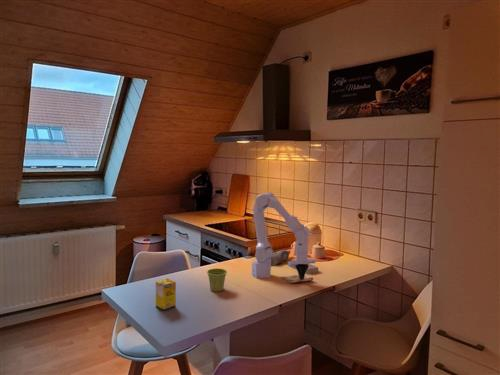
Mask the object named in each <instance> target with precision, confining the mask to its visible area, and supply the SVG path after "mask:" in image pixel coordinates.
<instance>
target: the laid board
mask: <svg viewBox="0 0 500 375" xmlns="http://www.w3.org/2000/svg"><path fill="white" fill-rule="evenodd" d="M280 278H281V279H282V280H283V281H286V280H290V279H298V278H299V275H298V274H294V275H289V276H287V275H286V276H280ZM304 278H306V275H305V276H304Z"/></svg>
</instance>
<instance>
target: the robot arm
mask: <svg viewBox="0 0 500 375" xmlns="http://www.w3.org/2000/svg"><path fill="white" fill-rule="evenodd" d="M254 201H255V202H254V205H253V208H252V214H253V220H254V221H253V222H254V227H255V234H256V240H257V244H256V246H255V254H254V257H255V261H253V262H252V263H251V276H253V277H254V278H255V279H261V278H262V279H264V278H265V279H266V278H270V277H271V271H272V270H271V269H272V268H271V267H272V266H271V257H272V256H273V254H274V250H273V248H272V244H271V243H270V242H269V239H268V233H267V227H266V219H265V210H266V209H267V208H269V209H274V210H275V211H276V212H277V213H278V214H279V215H280V216H281V217H282V218H283V219H284V223H285V225H286V226H287V227H288V228H289V229H290V230H291V231H292V233H294V237H295V239H296V240H295V241H296V242H295V243H296V244H295V246H296V248H295V259H292V260H293V261H292V260H289V261H287V266H288V267H289V266H294V265H295V267H296V269H297V270H296V269H295V270H296V271H297V273H298V274H297V275H299V279H301V280H302V279H304V276H305V277H306V274H305V273H306V271H307V269H308V267H309V265H307V264H311V265H312V264H316V259H315V258H309V237H310V234H311V233H310V229H309V228H308V227H307V226H305V225H304V224H302V222H300V221H299V219H298V217H297V216H295V215H292V214H290V213H289V212H288V211H287V209H286V208H285V207H284V206H283V205H282V203H281V201H279V198H278V197H276V195H275V194H274V193H272V192H271V191H270V192H269V191H267V192H264V193H260V194H258V195H257V196H256V198H255V199H254Z"/></svg>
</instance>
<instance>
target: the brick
mask: <svg viewBox="0 0 500 375" xmlns="http://www.w3.org/2000/svg"><path fill="white" fill-rule="evenodd" d="M293 260H294V259H292V260H291V261H293ZM307 265H309V267H308V269H307V271H306V273H305V275H312V274H317V273H319V267H318V266H316V265H313V264H312V263H311V264H307ZM288 267H289V268H292V269H293V270H296V271H297V269H296V267H295V265H294V266H288Z"/></svg>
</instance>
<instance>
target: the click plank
mask: <svg viewBox="0 0 500 375" xmlns="http://www.w3.org/2000/svg"><path fill="white" fill-rule="evenodd" d="M285 281H286V282H287V283H292V284H293V283H300V282H307V281H314V277H305V278H304V279H302V280H301V279H299V278H297V279H289V280H285Z"/></svg>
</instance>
